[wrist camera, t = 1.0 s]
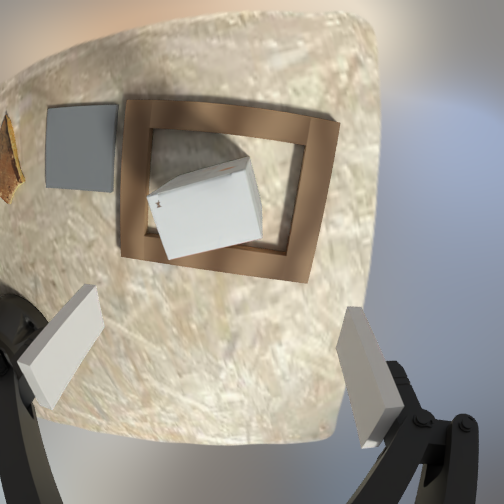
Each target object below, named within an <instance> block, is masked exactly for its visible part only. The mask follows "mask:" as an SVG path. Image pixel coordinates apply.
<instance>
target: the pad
mask: <svg viewBox="0 0 504 504" xmlns="http://www.w3.org/2000/svg"><path fill="white" fill-rule="evenodd" d="M118 106H119V105H92V106H75V107H61V108H51V109H48V116H47V132H46V188H61V189H74V190H87V191H98V192H110V193H111V192H113V183H114V156H115V140H116V127H117V116H118Z"/></svg>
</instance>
